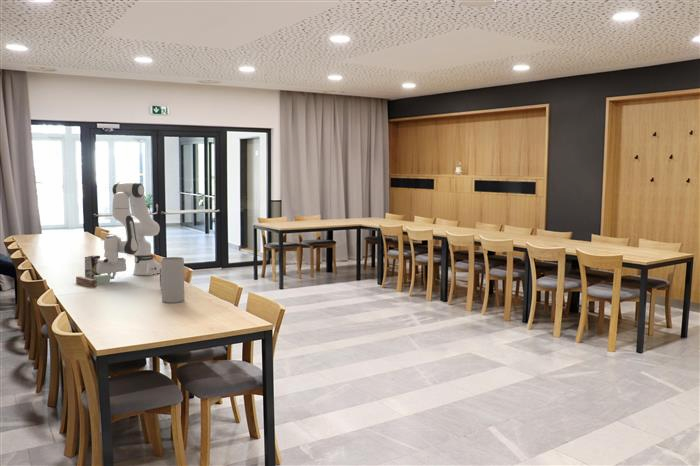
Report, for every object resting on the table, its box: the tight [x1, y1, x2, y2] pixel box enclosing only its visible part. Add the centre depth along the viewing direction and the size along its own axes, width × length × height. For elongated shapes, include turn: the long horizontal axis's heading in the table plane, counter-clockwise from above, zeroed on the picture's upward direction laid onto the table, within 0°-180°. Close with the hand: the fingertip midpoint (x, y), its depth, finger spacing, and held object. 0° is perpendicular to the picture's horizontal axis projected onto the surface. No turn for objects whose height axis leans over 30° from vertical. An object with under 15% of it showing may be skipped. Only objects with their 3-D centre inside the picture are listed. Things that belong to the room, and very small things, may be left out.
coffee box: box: [84, 255, 102, 279], centre depth 417 cm, size 9×6×16 cm
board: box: [75, 275, 97, 288], centre depth 396 cm, size 3×20×4 cm, turn 51°
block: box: [94, 274, 111, 285], centre depth 405 cm, size 8×8×5 cm
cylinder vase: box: [160, 256, 185, 304], centre depth 351 cm, size 12×12×25 cm
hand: (111, 279), depth 411 cm, fingers closed
